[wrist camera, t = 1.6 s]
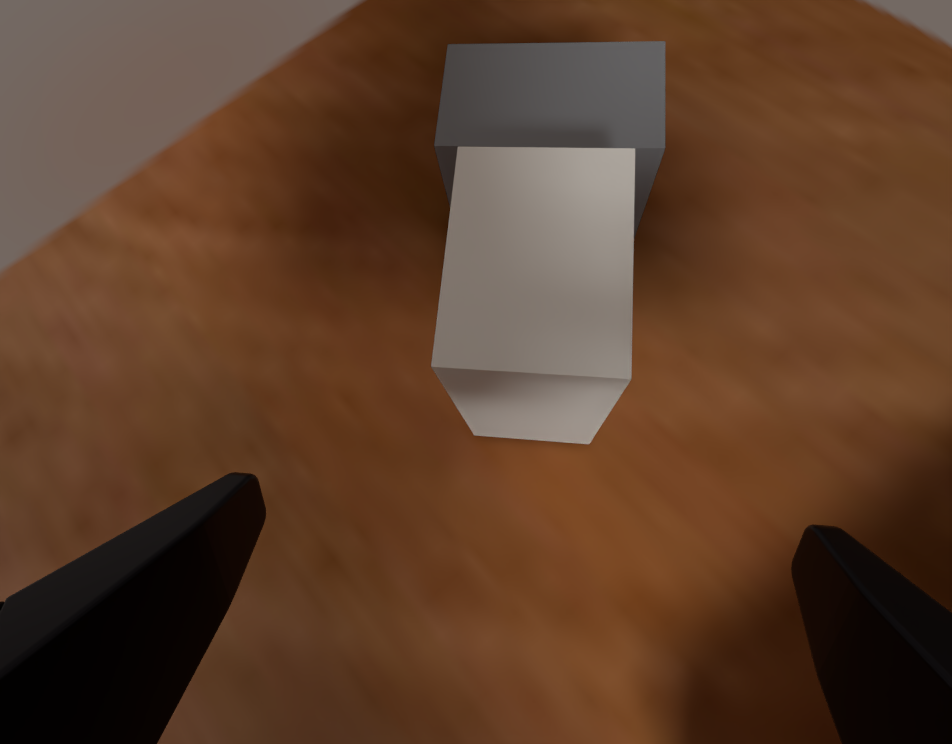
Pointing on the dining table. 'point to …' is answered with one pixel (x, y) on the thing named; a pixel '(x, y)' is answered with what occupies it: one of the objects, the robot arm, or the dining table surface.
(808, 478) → the dining table surface
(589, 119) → the block
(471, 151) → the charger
